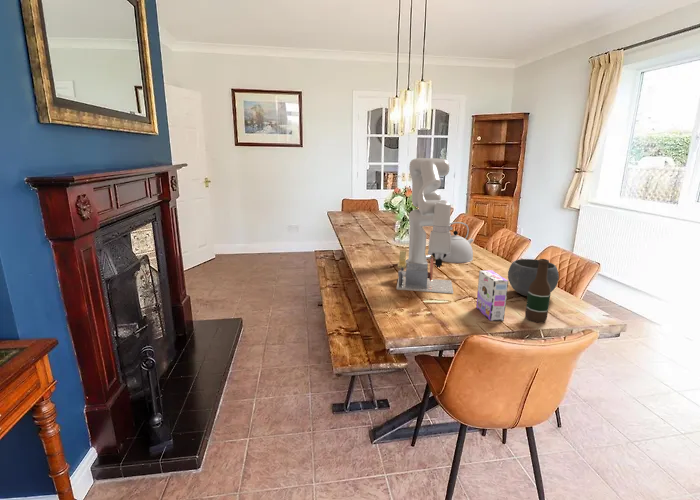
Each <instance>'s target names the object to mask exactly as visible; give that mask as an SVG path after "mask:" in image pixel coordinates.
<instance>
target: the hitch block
mask: <svg viewBox="0 0 700 500" xmlns="http://www.w3.org/2000/svg"><path fill="white" fill-rule="evenodd" d="M400 271H406V277H402V272H399V277H398V279H397V284H396V290H397V291H415V292H425V293H426V292H428V293H439V294H441V293H442V294H454V289H453V283H452V280H450V279H448V280H447V279H436V278H435V279H433V278H432V281H429V279H428V278H427V276H428V272H429V267H428V263H427V264H414V263H406V268H400Z"/></svg>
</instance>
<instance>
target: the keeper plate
mask: <svg viewBox="0 0 700 500" xmlns="http://www.w3.org/2000/svg"><path fill="white" fill-rule="evenodd" d="M406 253H407V251H406V250H399V261H398V262H397V268H400V269H401V268H404V269H406V267H407V263H406V260H407V259H406V258H407V257H406V256H407V255H406Z"/></svg>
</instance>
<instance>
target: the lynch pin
mask: <svg viewBox="0 0 700 500" xmlns="http://www.w3.org/2000/svg"><path fill="white" fill-rule="evenodd" d="M429 263H430V265H429V266H430V267H429V271H428V276H427V279H429V281H432V279H433V275H434V273H433V271H434V270H433V269H434V257H431V258H430V262H429ZM399 272H402V277H406V270H404V271H401V269H399V270H398V272H397V276H398V278H399Z"/></svg>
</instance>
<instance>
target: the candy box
mask: <svg viewBox="0 0 700 500" xmlns="http://www.w3.org/2000/svg"><path fill="white" fill-rule="evenodd" d="M477 282H478V285H477V296H476V309H477V310H479V312H480V313H481V314H482V315H484V317H486V319H488V320H489V321H490V322H491V321H493V322H495V321H496V322H497V321H498V322H499V321H501V322H502V321H504V320H505V316H506V315H505V314H506V313H505V312H506V306H507V305H506V304H507V296H508V288H509V280H508V279H506V278H505V277H503V276H501V275H500V274H498V272H495V271H494V270H493V269H492V270H490V269H489V270H488V269H487V270H486V269H485V270H479V273H478V281H477Z"/></svg>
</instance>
